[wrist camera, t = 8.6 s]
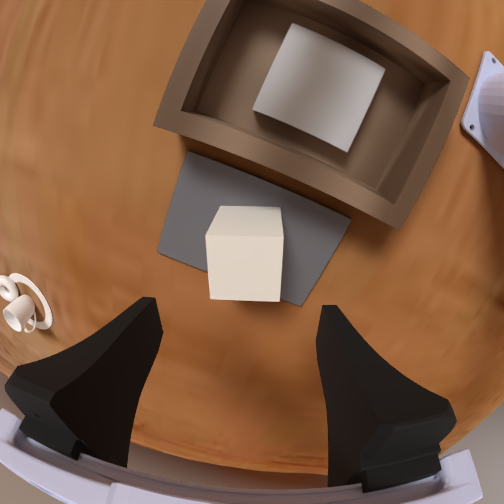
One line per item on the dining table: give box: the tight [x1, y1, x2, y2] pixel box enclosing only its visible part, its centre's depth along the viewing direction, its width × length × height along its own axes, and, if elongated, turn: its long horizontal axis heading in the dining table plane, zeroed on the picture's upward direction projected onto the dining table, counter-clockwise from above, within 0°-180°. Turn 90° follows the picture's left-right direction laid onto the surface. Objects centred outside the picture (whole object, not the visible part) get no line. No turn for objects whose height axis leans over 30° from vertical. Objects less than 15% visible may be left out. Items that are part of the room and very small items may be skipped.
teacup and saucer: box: [0, 273, 53, 333], centre depth 24 cm, size 9×8×4 cm
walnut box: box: [153, 0, 470, 231], centre depth 14 cm, size 15×11×4 cm
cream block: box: [205, 206, 284, 302], centre depth 18 cm, size 4×4×5 cm
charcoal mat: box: [157, 151, 352, 306], centre depth 20 cm, size 12×8×1 cm, turn 68°
